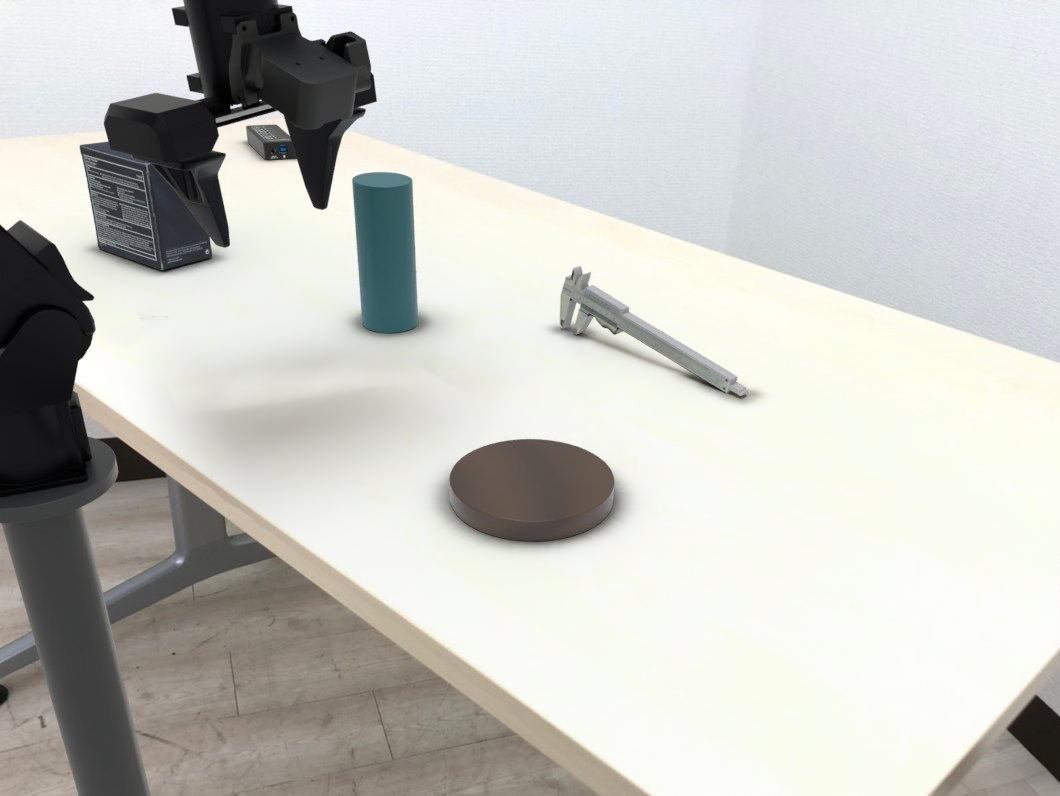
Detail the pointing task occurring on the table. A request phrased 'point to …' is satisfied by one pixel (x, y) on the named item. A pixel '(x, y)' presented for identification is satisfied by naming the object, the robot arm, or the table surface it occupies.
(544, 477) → the walnut chip
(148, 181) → the small box
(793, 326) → the table surface
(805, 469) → the table surface
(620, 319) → the caliper
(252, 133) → the multiport hub
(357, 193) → the cylinder
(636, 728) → the table surface
